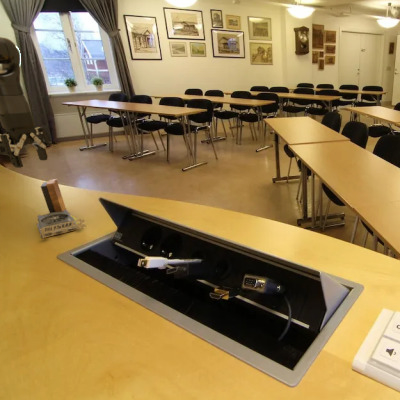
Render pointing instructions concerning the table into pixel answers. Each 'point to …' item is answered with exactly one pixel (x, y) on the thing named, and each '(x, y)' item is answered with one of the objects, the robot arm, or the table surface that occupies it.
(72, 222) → the graphics card
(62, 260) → the table surface
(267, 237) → the table surface
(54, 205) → the brush
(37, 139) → the robot arm
